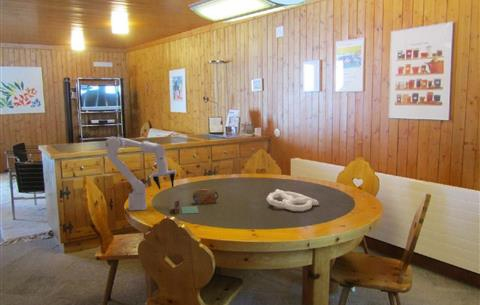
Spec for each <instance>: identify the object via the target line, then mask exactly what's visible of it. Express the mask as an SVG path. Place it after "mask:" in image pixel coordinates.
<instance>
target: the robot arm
mask: <svg viewBox="0 0 480 305" xmlns="http://www.w3.org/2000/svg"><path fill="white" fill-rule="evenodd" d="M125 146H128V147H129V146H130V147H134V148H138V149H140V151H141V152H145V153H149V154H154V157H155V164H156V168H157V172H155V173H151V174H150V178H151V179H153V181H154V182H155V184H156V186H157V188H158V190H160V189H161V188H162V187H161V185H160V184H161V182H160V177H163V176H169V179H170V182H171V187H172V188H174V185H175V183H174V182H175V177H176V176H175V175H177V170H176V169H174V170H173V169H172V170H169V169H168V163H167V159H166V156H165V155H166V154H165V153H166V148H165V147H164V146H163V145H162V144H160V143H157V142H150V141H149V140H143V141H141V142H140V141H138V140H134V139H133V140H132V139H129V138H125V137H121V136H120V137H119V136H117V137H116V136H109V137H108V138H107V139H106V143H105V149H106V157H107V159H108V160H109V161H110V162H111V164H112V165H114V167H115V168H116V169H117V170H118V172H120V173H121V174H122V175H123V177H124V178H125V179H126V180H127V182H128V183H129V184H130V186H131V188H132V190H133V191H132V192H130V193H128V211H141V210H142V211H146V210H147V207H148V205H147V203H146V202H147V200H146V199H147V198H146V196H147V195H146V189H147V188H146V184H145V183H144V182H142V180H140V179H138V178H137V177H136V176H135V175H134V174H133V172H132V171H131V170H130V169H129V168H128V166H126V165H125V163H124V162H123V161H122V160H121V158H119V156H118V152H119V149H120V148H122V147H125Z"/></svg>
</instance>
